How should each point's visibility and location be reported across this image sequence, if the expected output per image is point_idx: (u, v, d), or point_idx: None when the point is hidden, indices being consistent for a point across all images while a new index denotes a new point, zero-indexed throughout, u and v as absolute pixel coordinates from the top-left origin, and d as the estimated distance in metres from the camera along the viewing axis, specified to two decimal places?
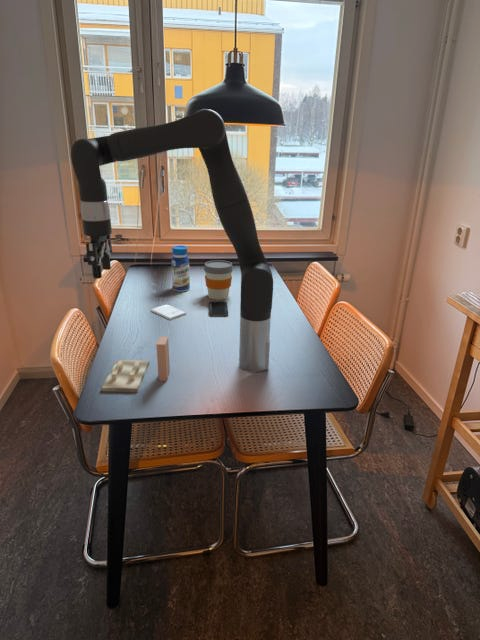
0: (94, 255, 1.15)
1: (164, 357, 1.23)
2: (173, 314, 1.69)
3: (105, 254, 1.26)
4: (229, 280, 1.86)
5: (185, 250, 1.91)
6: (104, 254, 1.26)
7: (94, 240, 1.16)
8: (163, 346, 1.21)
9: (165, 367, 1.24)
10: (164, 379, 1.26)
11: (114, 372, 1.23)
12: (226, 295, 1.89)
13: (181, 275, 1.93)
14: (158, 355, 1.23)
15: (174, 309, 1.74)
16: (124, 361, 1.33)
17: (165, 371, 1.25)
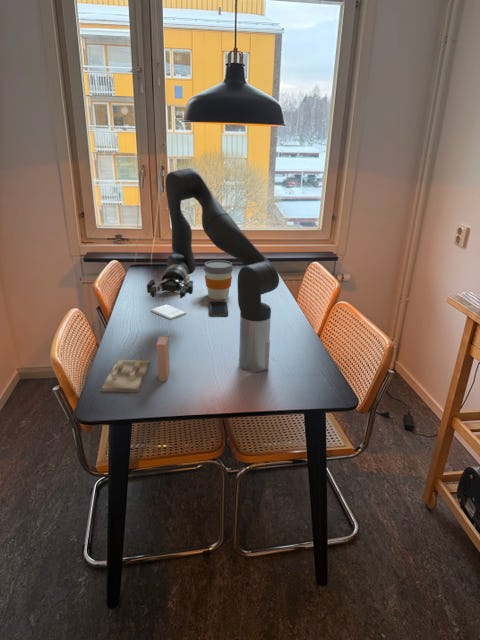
0: None
1: (164, 357, 1.23)
2: (173, 314, 1.70)
3: None
4: (229, 280, 1.86)
5: None
6: None
7: None
8: (163, 346, 1.21)
9: (165, 367, 1.24)
10: (164, 379, 1.26)
11: (114, 372, 1.23)
12: (226, 295, 1.89)
13: None
14: (158, 355, 1.23)
15: (174, 309, 1.74)
16: (124, 361, 1.33)
17: (165, 371, 1.25)
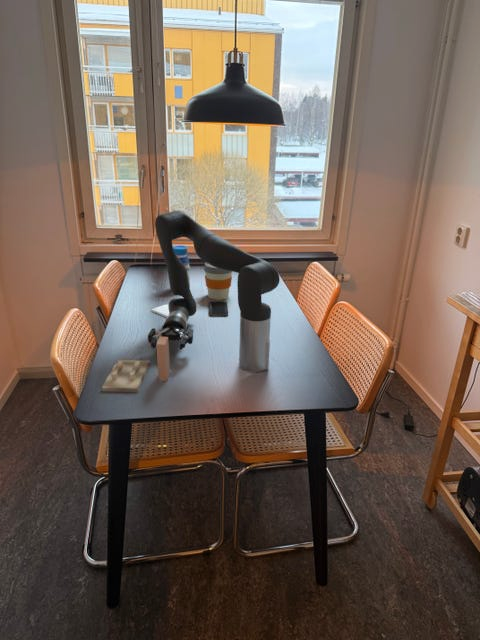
0: None
1: (164, 357, 1.23)
2: None
3: None
4: (229, 280, 1.86)
5: (185, 250, 1.91)
6: None
7: None
8: (163, 346, 1.21)
9: (165, 367, 1.24)
10: (164, 379, 1.26)
11: (114, 372, 1.23)
12: (226, 295, 1.89)
13: None
14: (158, 355, 1.23)
15: None
16: (124, 361, 1.33)
17: (165, 371, 1.25)
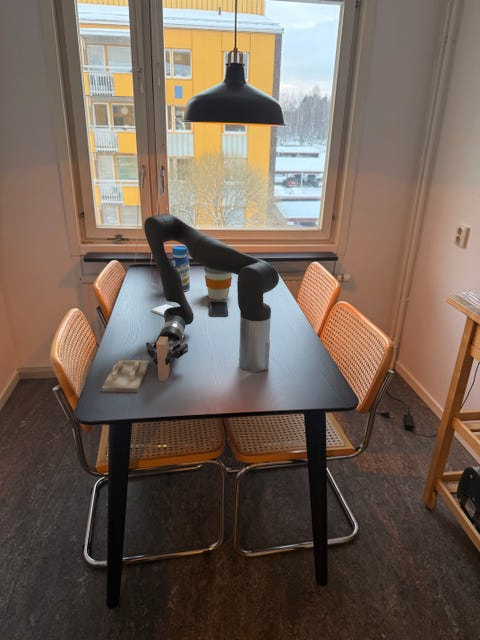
0: (148, 348, 1.29)
1: (164, 357, 1.23)
2: None
3: None
4: (229, 280, 1.86)
5: (185, 250, 1.91)
6: None
7: None
8: (163, 346, 1.21)
9: (165, 367, 1.24)
10: (164, 379, 1.26)
11: (114, 372, 1.23)
12: (226, 295, 1.89)
13: (181, 275, 1.93)
14: (158, 355, 1.23)
15: None
16: (124, 361, 1.33)
17: (165, 371, 1.25)
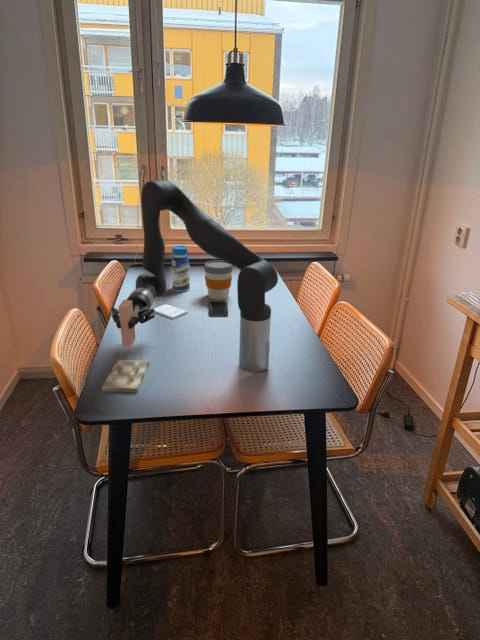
0: (112, 312, 1.24)
1: (127, 320, 1.18)
2: (175, 313, 1.70)
3: None
4: (229, 280, 1.86)
5: (185, 250, 1.91)
6: None
7: None
8: (125, 309, 1.17)
9: (128, 331, 1.19)
10: (128, 344, 1.21)
11: (114, 372, 1.23)
12: (226, 295, 1.89)
13: (181, 275, 1.93)
14: (121, 318, 1.18)
15: (175, 308, 1.75)
16: (124, 361, 1.33)
17: (129, 336, 1.20)
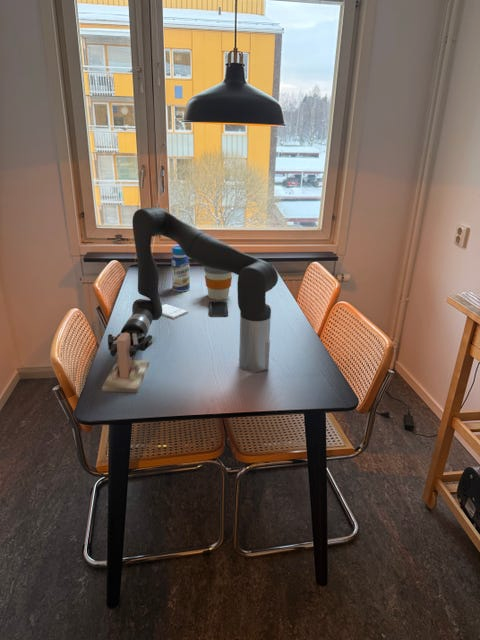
0: (108, 340, 1.27)
1: (125, 353, 1.22)
2: (175, 313, 1.70)
3: None
4: (229, 280, 1.86)
5: None
6: None
7: None
8: (123, 342, 1.20)
9: (126, 364, 1.23)
10: (125, 376, 1.24)
11: (114, 372, 1.23)
12: (226, 295, 1.89)
13: (181, 275, 1.93)
14: (118, 351, 1.21)
15: (175, 308, 1.75)
16: None
17: (126, 368, 1.23)
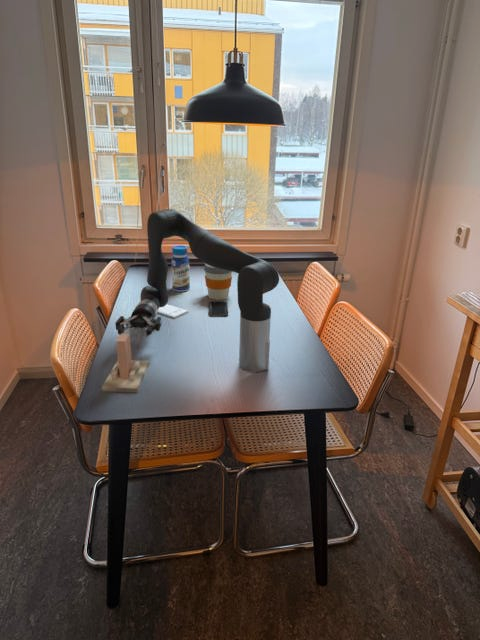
0: None
1: (124, 354, 1.21)
2: (176, 313, 1.71)
3: None
4: (229, 280, 1.86)
5: (185, 250, 1.91)
6: None
7: None
8: (123, 343, 1.20)
9: (126, 364, 1.23)
10: (125, 376, 1.24)
11: (114, 372, 1.23)
12: (226, 295, 1.89)
13: (181, 275, 1.93)
14: (118, 352, 1.21)
15: (175, 308, 1.75)
16: None
17: (126, 368, 1.23)
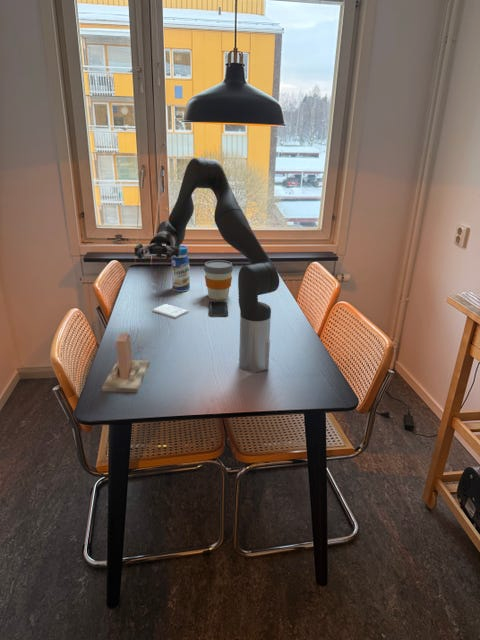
0: None
1: (124, 354, 1.21)
2: (176, 313, 1.71)
3: None
4: (229, 280, 1.86)
5: (185, 250, 1.91)
6: None
7: None
8: (123, 343, 1.20)
9: (126, 364, 1.23)
10: (125, 376, 1.24)
11: (114, 372, 1.23)
12: (226, 295, 1.89)
13: (181, 275, 1.93)
14: (118, 352, 1.21)
15: (176, 308, 1.75)
16: None
17: (126, 368, 1.23)
